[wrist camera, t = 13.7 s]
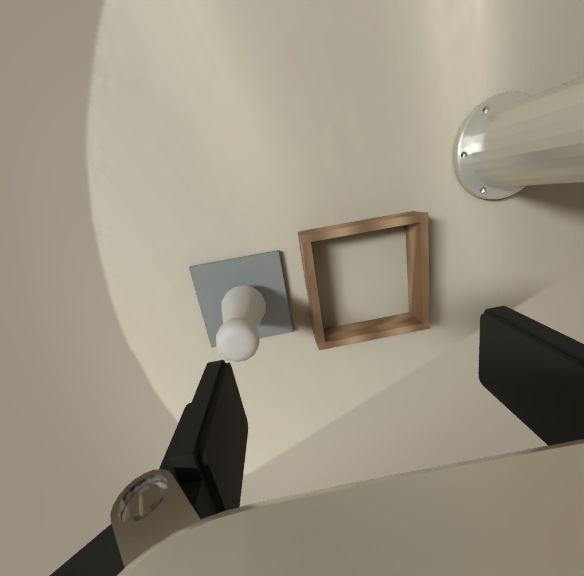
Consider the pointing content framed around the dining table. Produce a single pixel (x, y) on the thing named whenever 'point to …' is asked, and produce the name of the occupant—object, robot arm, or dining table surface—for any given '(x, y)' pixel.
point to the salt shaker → (240, 323)
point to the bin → (416, 281)
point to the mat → (237, 272)
